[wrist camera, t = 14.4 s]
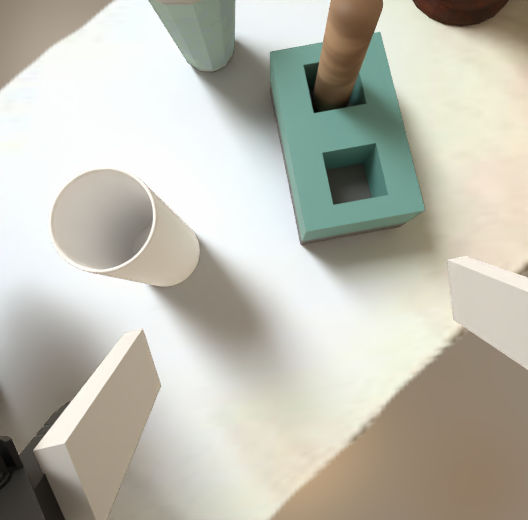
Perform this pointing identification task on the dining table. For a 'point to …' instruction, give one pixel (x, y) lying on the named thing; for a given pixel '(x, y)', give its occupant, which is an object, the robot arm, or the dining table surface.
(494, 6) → the lantern
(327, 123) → the socket block
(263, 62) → the dining table surface
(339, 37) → the walnut pin
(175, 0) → the disposable coffee cup
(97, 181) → the cup
